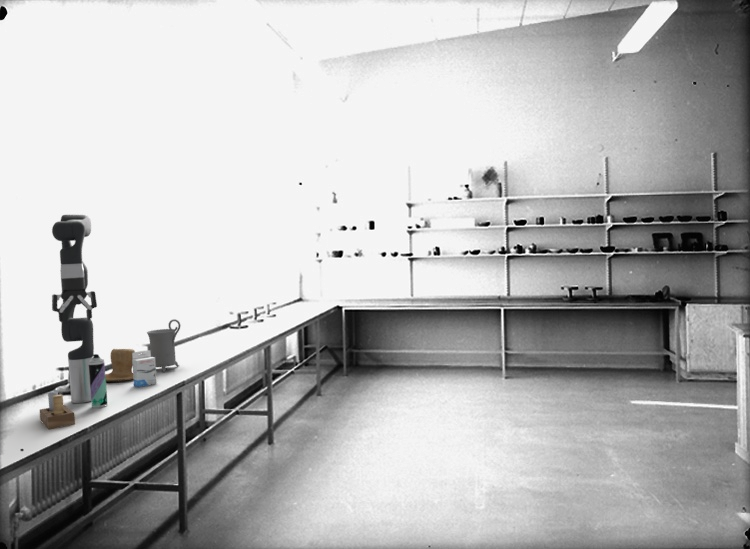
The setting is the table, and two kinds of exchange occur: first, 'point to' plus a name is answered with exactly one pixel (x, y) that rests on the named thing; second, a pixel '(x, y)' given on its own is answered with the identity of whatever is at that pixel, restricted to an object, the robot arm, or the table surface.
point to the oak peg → (58, 404)
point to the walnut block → (57, 418)
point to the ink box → (143, 368)
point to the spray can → (97, 382)
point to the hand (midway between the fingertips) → (75, 321)
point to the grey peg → (51, 399)
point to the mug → (163, 346)
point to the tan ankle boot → (121, 365)
